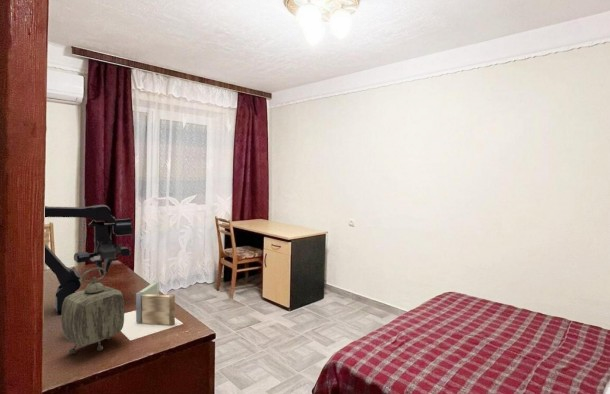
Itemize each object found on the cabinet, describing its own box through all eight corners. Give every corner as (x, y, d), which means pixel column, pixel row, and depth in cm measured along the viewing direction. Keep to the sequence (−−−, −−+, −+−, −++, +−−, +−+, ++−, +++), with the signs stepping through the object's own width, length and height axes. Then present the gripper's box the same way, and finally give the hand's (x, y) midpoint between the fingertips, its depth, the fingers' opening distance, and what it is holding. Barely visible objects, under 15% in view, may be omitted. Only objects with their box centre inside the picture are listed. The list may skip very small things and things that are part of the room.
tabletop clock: (111, 335, 111) (110, 260, 110) (128, 343, 107) (127, 265, 105) (62, 355, 99) (59, 271, 97) (78, 365, 94) (76, 276, 93)
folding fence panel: (140, 322, 120) (140, 294, 119) (135, 322, 120) (134, 293, 119) (159, 306, 134) (159, 280, 133) (154, 306, 134) (154, 280, 133)
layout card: (130, 341, 108) (130, 340, 108) (107, 318, 124) (107, 317, 124) (183, 324, 121) (183, 323, 121) (156, 305, 137) (156, 304, 137)
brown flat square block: (141, 323, 120) (141, 294, 119) (144, 321, 121) (144, 292, 121) (173, 325, 119) (173, 296, 118) (175, 323, 121) (175, 294, 120)
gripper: (80, 243, 122) (81, 285, 123) (135, 237, 136) (135, 275, 137) (73, 238, 130) (74, 278, 131) (125, 233, 143) (125, 269, 144)
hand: (103, 275), depth 136 cm, fingers closed
